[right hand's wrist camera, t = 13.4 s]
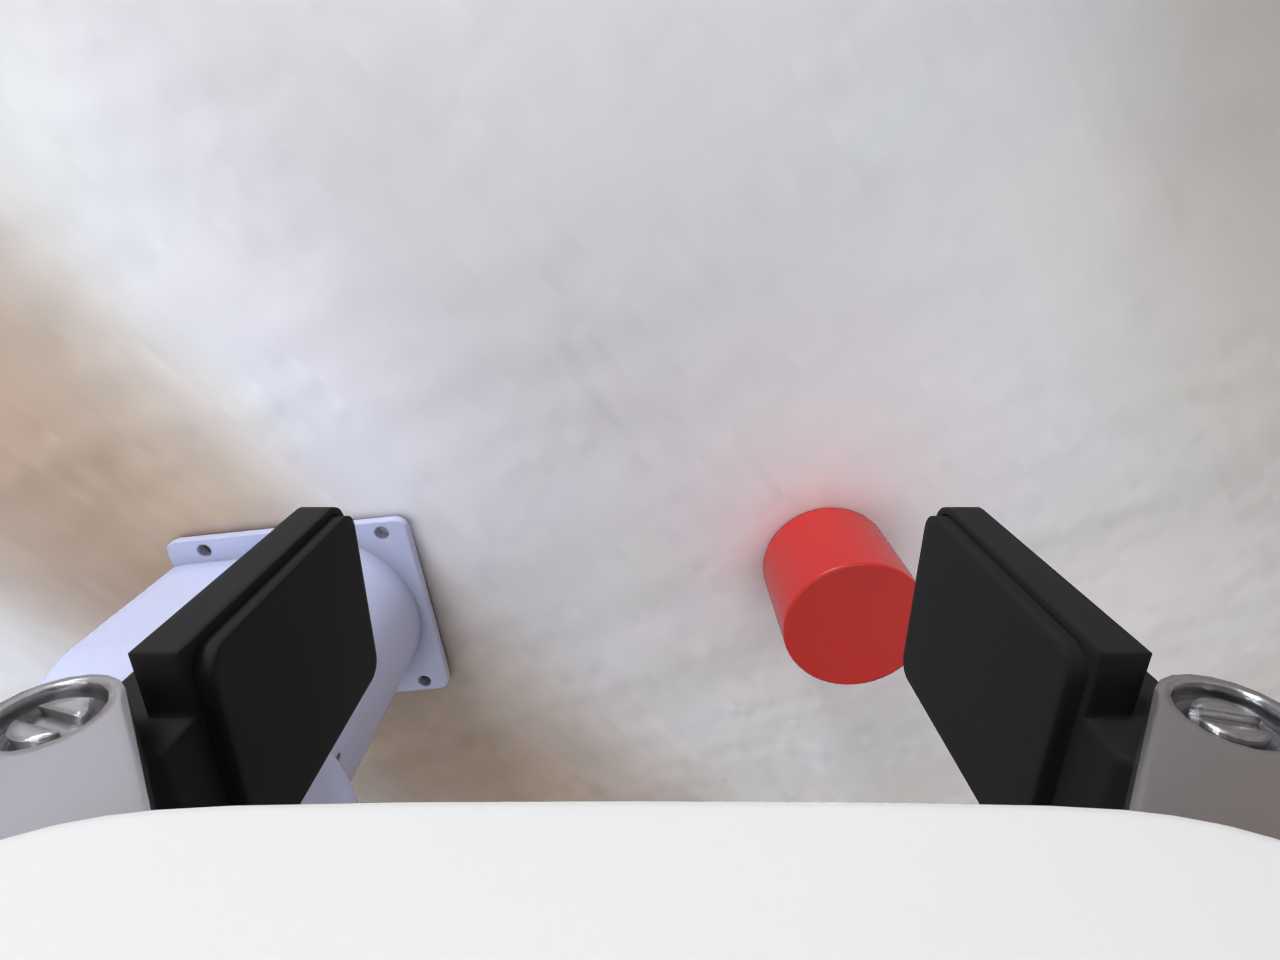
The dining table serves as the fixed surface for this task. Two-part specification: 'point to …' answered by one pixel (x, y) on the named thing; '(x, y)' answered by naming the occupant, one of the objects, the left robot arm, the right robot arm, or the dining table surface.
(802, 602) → the canister
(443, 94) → the dining table surface
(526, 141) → the dining table surface
